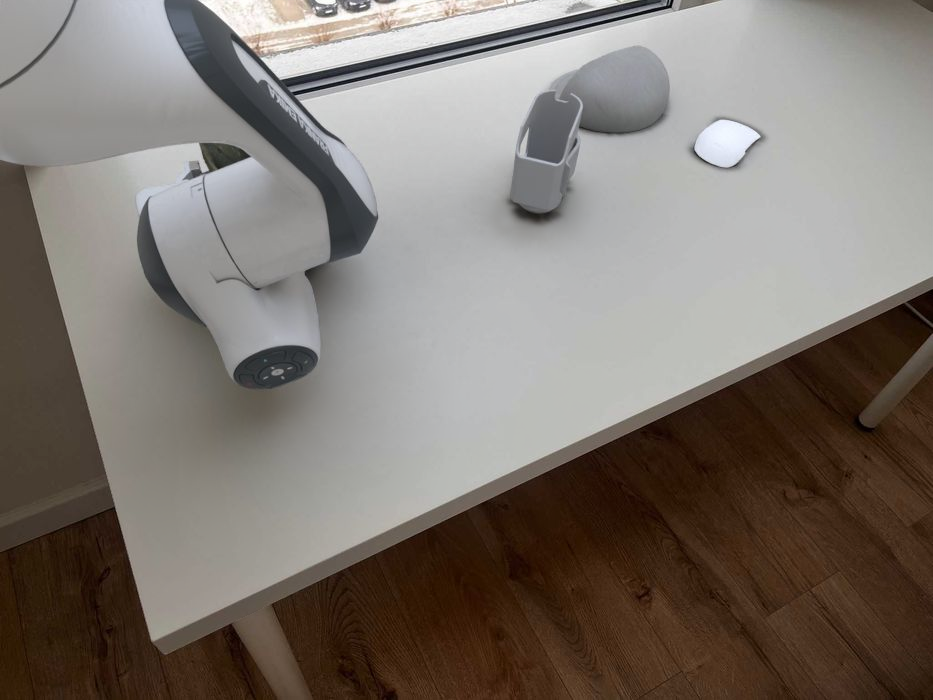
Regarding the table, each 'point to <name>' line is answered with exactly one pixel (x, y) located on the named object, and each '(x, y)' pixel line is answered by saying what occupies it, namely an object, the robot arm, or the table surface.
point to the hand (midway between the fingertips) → (237, 160)
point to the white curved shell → (725, 142)
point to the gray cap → (618, 90)
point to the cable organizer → (546, 152)
